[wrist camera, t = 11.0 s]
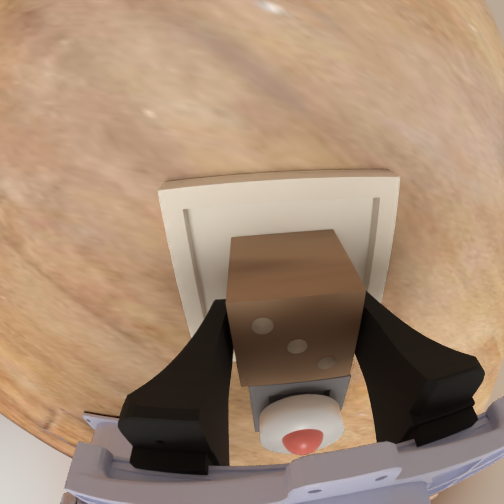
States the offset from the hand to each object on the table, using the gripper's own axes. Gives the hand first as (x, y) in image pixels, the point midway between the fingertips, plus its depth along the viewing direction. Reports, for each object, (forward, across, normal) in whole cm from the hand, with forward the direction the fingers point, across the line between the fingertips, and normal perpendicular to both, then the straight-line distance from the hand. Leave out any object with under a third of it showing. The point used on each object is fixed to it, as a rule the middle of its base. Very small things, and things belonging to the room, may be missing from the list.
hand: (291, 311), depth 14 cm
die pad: (+3, 0, 0) cm, 3 cm away
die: (+3, 0, 0) cm, 3 cm away
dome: (+3, -1, +12) cm, 12 cm away
